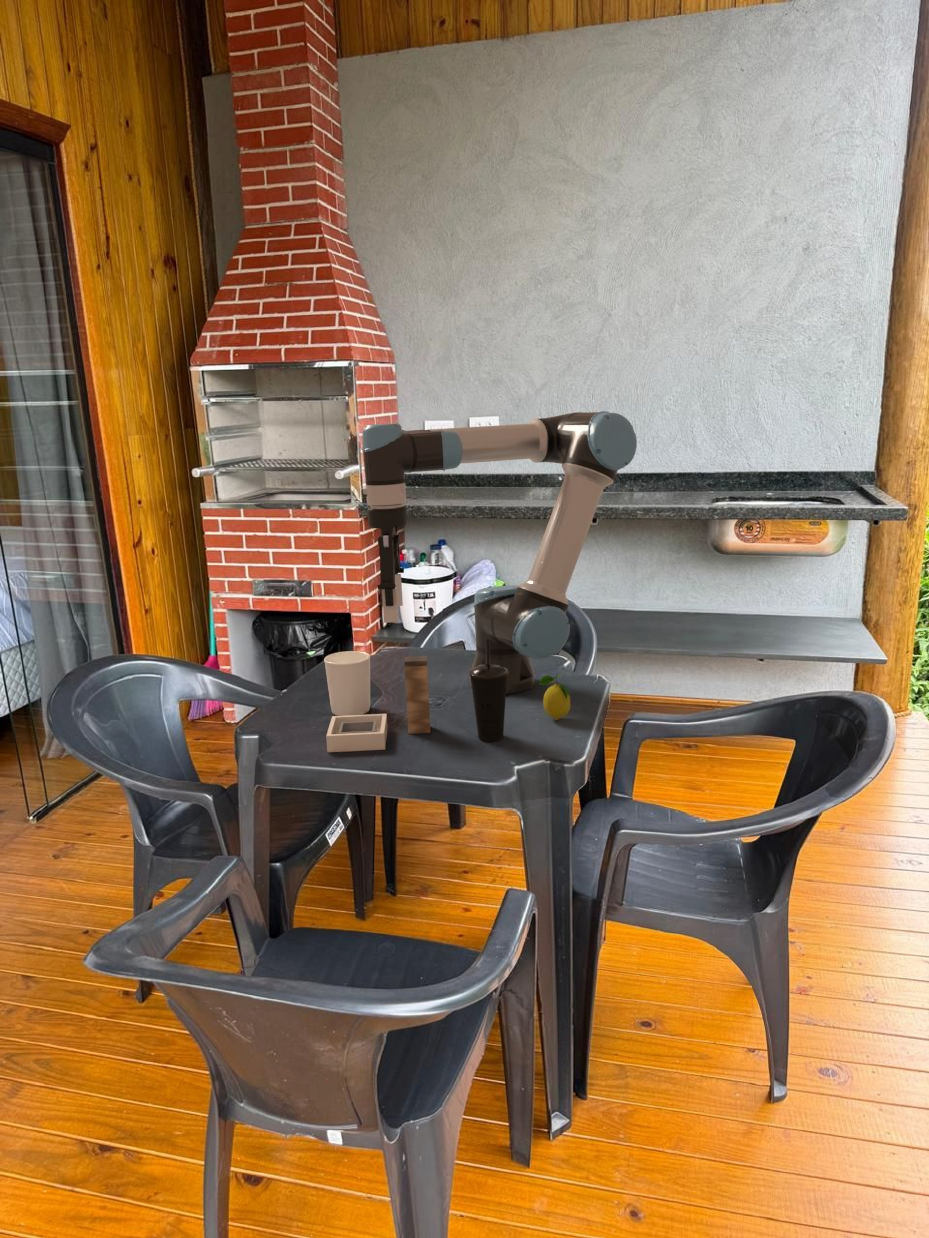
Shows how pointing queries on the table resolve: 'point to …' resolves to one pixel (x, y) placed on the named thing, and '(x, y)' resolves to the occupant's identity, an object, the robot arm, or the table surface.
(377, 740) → the cream open tray
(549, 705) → the lemon
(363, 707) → the cream cup
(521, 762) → the table surface
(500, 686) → the drinking cup
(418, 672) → the brown bar
